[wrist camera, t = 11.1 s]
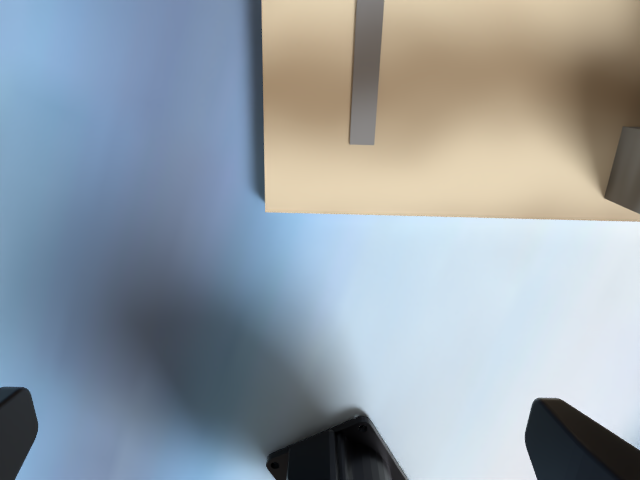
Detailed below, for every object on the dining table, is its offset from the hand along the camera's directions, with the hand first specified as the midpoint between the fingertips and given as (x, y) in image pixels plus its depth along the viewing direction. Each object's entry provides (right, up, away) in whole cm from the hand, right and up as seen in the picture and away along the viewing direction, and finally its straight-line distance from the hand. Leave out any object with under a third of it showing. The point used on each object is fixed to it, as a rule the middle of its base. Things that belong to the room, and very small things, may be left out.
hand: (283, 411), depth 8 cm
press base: (+9, +15, +8) cm, 19 cm away
